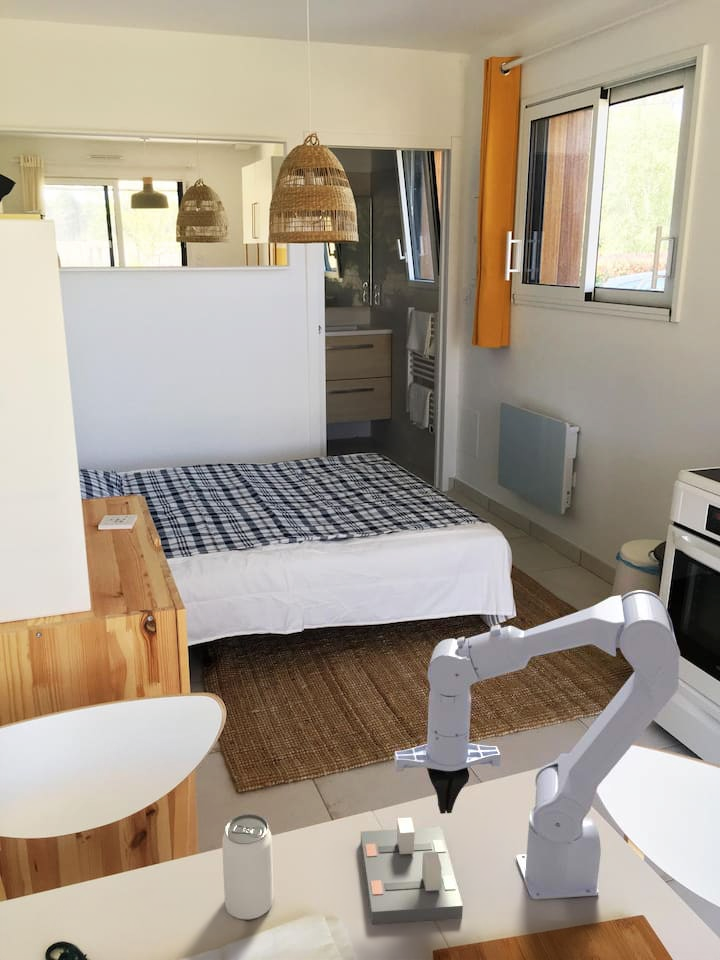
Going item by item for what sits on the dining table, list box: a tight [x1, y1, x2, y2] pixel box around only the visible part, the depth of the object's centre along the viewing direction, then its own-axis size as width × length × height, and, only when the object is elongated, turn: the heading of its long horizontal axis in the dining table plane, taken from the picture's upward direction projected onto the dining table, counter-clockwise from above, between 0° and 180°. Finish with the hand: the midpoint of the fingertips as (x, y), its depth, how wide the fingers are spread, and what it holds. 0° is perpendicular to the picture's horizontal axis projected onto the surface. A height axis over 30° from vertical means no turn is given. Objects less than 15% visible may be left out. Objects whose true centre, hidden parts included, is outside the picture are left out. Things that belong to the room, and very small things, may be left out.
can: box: [221, 813, 274, 921], centre depth 109 cm, size 6×6×12 cm
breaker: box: [422, 852, 442, 891], centre depth 110 cm, size 2×3×4 cm, turn 5°
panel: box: [360, 826, 464, 925], centre depth 115 cm, size 12×15×2 cm
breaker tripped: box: [396, 817, 415, 854], centre depth 117 cm, size 2×3×4 cm, turn 5°
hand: (444, 808), depth 116 cm, fingers closed
